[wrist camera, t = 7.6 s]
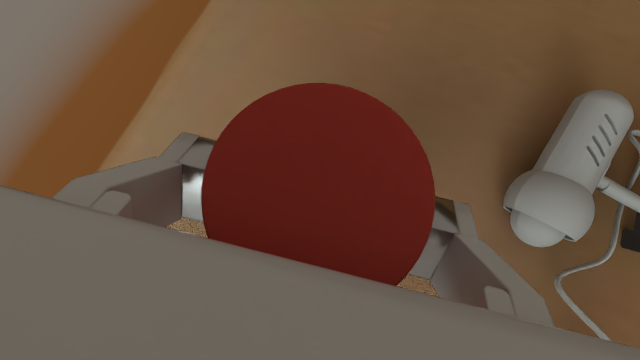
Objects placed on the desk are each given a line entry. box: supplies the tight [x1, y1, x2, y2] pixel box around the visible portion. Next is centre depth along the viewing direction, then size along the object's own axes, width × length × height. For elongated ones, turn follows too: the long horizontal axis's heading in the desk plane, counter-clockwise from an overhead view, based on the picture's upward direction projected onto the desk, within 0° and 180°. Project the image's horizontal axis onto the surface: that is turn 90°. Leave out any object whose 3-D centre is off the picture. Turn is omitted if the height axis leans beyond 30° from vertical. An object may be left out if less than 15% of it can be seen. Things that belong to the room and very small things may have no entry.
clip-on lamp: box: [503, 89, 640, 341], centre depth 27 cm, size 12×6×18 cm
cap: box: [201, 83, 435, 286], centre depth 12 cm, size 6×6×5 cm
